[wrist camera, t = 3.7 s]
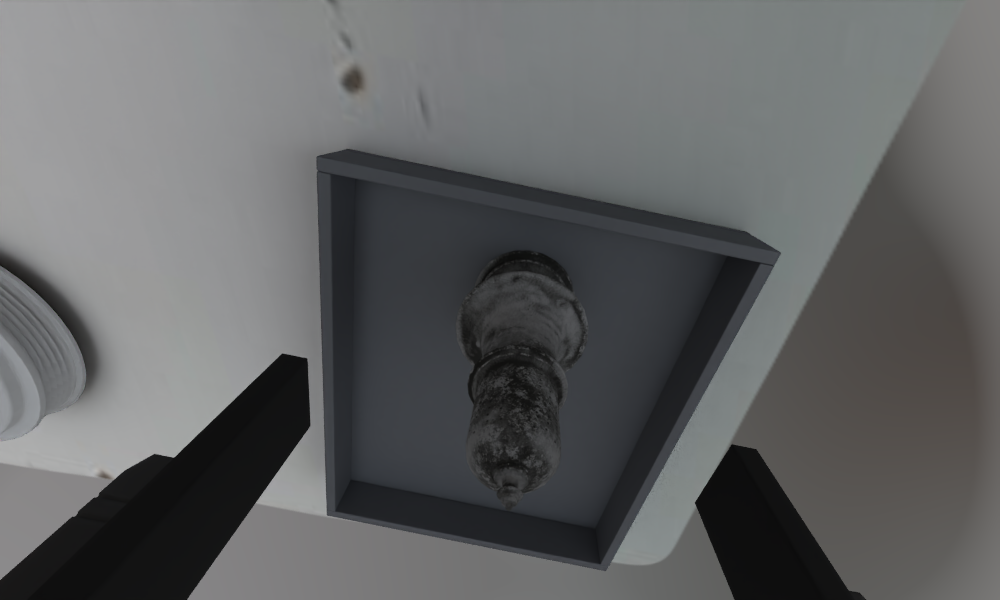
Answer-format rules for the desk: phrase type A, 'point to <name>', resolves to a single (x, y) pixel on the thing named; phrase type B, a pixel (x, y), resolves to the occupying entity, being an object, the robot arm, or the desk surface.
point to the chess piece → (519, 369)
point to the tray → (445, 370)
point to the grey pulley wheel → (33, 360)
